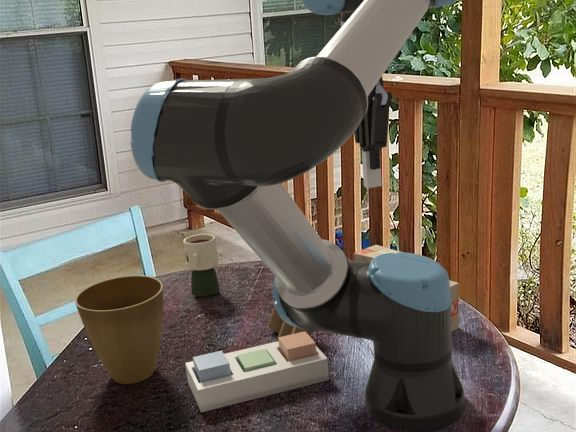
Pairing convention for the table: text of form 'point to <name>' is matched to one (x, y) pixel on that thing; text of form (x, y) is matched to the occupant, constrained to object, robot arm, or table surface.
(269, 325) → the wooden block set
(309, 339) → the terracotta key
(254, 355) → the sage key
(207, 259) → the character mug
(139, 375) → the plant pot
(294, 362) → the key console
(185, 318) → the table surface
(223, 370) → the blue key
